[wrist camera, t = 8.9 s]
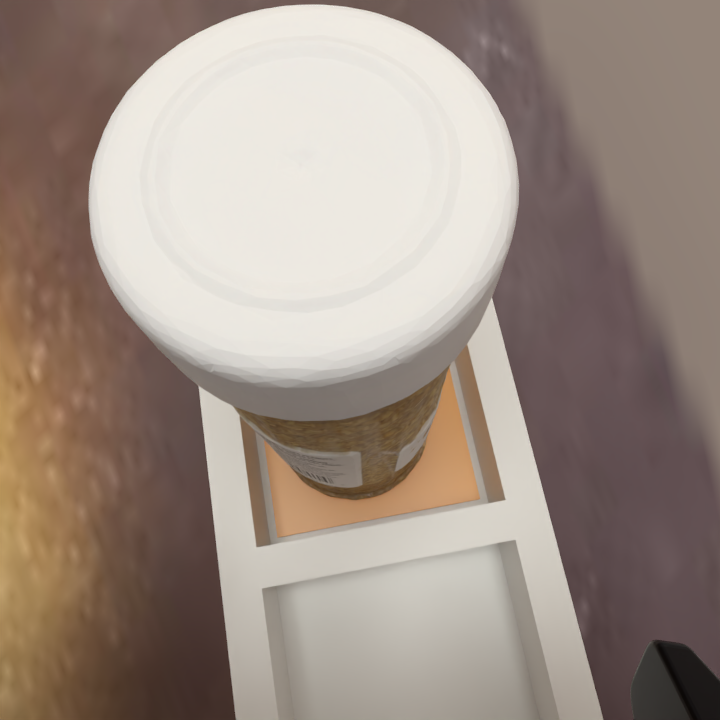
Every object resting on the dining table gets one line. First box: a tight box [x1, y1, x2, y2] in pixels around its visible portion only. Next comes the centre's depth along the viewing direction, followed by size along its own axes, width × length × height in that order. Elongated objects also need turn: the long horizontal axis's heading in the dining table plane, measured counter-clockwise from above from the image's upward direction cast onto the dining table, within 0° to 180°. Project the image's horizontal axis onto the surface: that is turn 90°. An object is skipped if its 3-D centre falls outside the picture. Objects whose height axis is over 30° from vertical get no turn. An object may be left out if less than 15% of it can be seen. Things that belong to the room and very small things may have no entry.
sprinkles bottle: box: [89, 5, 519, 500], centre depth 13 cm, size 5×5×14 cm
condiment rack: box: [199, 298, 603, 720], centre depth 16 cm, size 24×8×3 cm, turn 10°
